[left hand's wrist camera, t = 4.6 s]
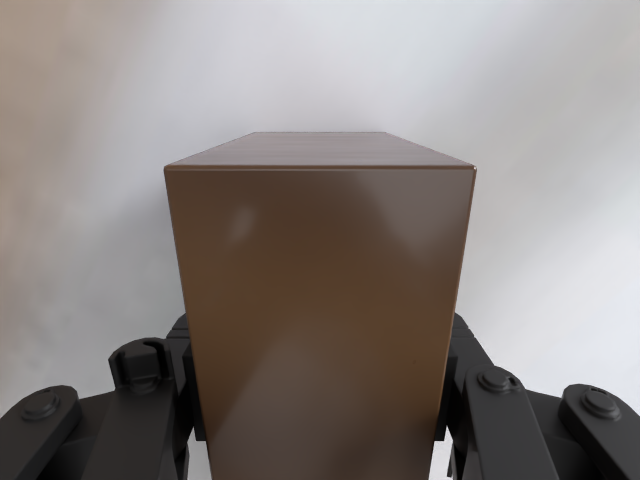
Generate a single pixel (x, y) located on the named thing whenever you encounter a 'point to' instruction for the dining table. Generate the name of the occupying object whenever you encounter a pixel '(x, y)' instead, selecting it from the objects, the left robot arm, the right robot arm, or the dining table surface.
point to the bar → (320, 300)
